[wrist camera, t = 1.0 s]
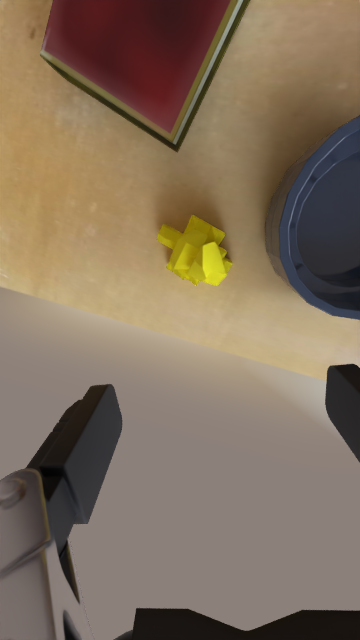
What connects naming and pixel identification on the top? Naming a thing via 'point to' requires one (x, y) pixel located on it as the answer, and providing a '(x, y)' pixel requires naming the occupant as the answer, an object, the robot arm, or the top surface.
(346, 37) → the top surface
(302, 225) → the bowl
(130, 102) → the hardcover book
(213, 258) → the yellow faceted lump
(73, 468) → the robot arm
